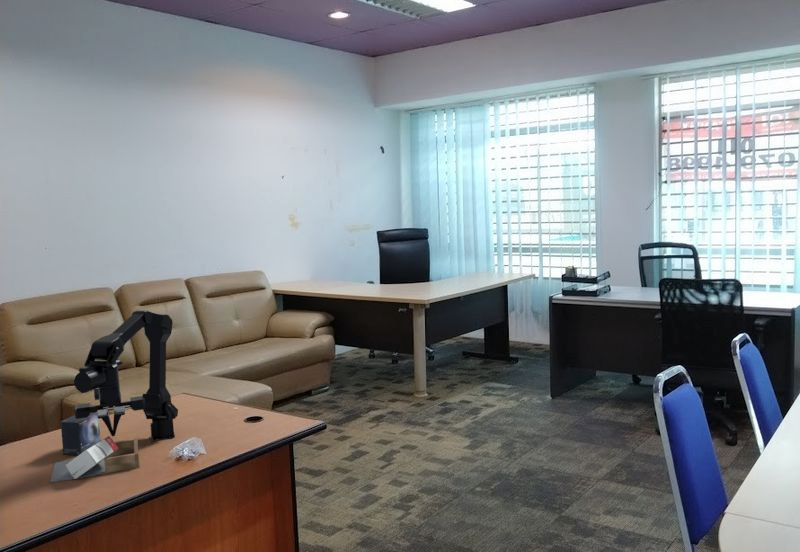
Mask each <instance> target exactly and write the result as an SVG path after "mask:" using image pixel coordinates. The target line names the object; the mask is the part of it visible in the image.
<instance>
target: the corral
mask: <svg viewBox="0 0 800 552" xmlns="http://www.w3.org/2000/svg"><path fill="white" fill-rule="evenodd" d="M114 443H115V444H116V446H117V447H118V449H117V450H116V451H114V452H113V453H112V454H110V455H109V456H108V457H106V458H104V462H105V473H106V474H108V473H114V472H121V471H125V470H132V469H137V468H140V456H139V443H138V437H136V438H130V439H129V438H128V439H124V440H116V441H114Z"/></svg>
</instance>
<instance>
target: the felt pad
mask: <svg viewBox="0 0 800 552" xmlns="http://www.w3.org/2000/svg"><path fill="white" fill-rule="evenodd" d="M72 460H73V459H70V460H63V461H58V462H54V466H53V469H52V472H51V478H50V481H49V483H50V484H51V483H52V484H54V483H58V482H64V481H70V480H76V479H82V478H87V477H94V476H99V475H105V474H107V473H105V462H104V460H102V461H101V462H100V463H98V464H97V465H95V466H94V467H92V468H91V469H90V470H88V471H87V472H85V473H84V474H82V475H81V476H79V477H78V478H76V479H74V478H73V476H72V475H71V474H70V472H69V471H68V470H67V468H66V466H65V465H66V464H68V463H69V462H70V461H72Z"/></svg>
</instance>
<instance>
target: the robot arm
mask: <svg viewBox="0 0 800 552" xmlns="http://www.w3.org/2000/svg"><path fill="white" fill-rule="evenodd" d="M173 323H174V322H173V318H171V316H170V315H168V314H160V313H155V312H152V311H149V310H135V311H133V312H132V313H131V316H129V317H128V318H127V319H126V320H125V321H123V323H122V324H121V325H119V326H118V327H117V328H116V329H114V331H113V332H112V333H110V334H108V335H103V336H102V337H100V338H98V339H96V340H95V341H93V342H92V344H91V346H90V349H89V352H88V355H87V357H86V360H85V362H84V366H83V367H80V368H79V369H78V371H79V372H78V373H77V374H76V375H75V377H74V380H73V384H74V387H75V389H76V390H77V391H78V392H79V393H82V394H84V393H88V392H91V391H93V394H94V395H93V397H94V400H95V401H99V404H97V405H92V406H91V403H90V402H87V403H81V404H76V406H75V408H74V415H75V419H80V418H87V417H88V416H89V415H90V413H94V412H96V413H98V419H99V420H100V419H101V420H102V421H103V422H104V425H106V427H107V430H108V431H109V432H108V433H110V437H115V436H116V433H117V429H118V425H119V422H120V420H121V417H122V416H125V415H126V413H125V411H126V409H131V410H132V411H135V412H136V411H143V413H144V415H145V418H146V420H151V422H150V423H149V424H150V436H151V438H153V439H152V440H153V441H160V440H165V439H166V440H167V439H172V438H173V439H174V438H175V436H176V434H175V430H174V420H175V419H176V418H177V417H178V414H179V409H178V408H177V407H176V406H175V405H174V404H173V403H172V398H171V397H172V396H171V394H170V392H169V390H168V389H167V385H166V383H167V381H166V380H167V379H166V378H167V372H166V371H167V341H168V339H169V338H170V336H171V335H172V330H173ZM143 328H144V329H143ZM141 329H143V331H144V336H145V337H146V339H147V340H148V342H149V369H148V370H149V373H148V374H149V376H148V380H149V381H148V385H149V386H148V389H147V391H146V393H142V395H140V396H131V397H129V398H130V400H127V401H126V400H125V401H122V394H121V387H120V377H119V375H120V374H119V366H122V365H123V361H121V360H120V359H119V358H120V356H121V355H122V353H123V352H124V350H125V345H127V344H126V343H128V342H129V341H130V340H131V339H132V338H133V337H134V336H135V335H136V334H138V332H139V331H141ZM110 411H113V425H112V420H111V416H110Z"/></svg>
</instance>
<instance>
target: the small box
mask: <svg viewBox="0 0 800 552" xmlns="http://www.w3.org/2000/svg"><path fill="white" fill-rule="evenodd" d="M60 429H61V441H62V444H61V445H62V455H73V456H79V455H80V454H81V453H83V452H84V451H85V450H87V449H89V448H90V447H92V446H93V445H95V444H97V443H98V442H100V441H101V429H100V419H98V413H97V412H94V413H90V415H89V416H88V417H87V418H80V419H75V414H74V415H71V416H70V417H67V418H65V419H63V420H61V421H60Z"/></svg>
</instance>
